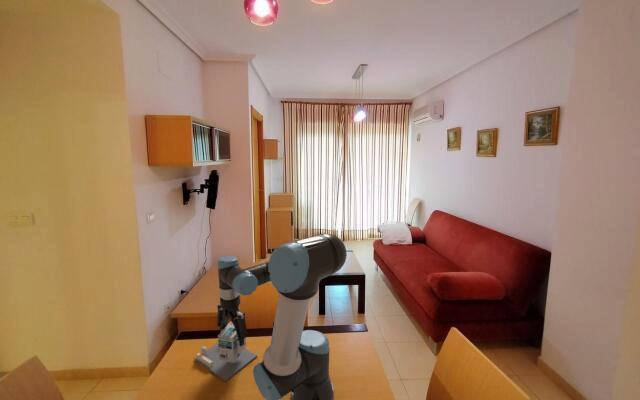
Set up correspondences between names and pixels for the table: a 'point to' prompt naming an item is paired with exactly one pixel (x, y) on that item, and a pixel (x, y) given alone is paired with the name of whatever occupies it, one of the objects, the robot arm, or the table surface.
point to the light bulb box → (228, 344)
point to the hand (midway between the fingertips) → (233, 347)
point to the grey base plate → (223, 362)
